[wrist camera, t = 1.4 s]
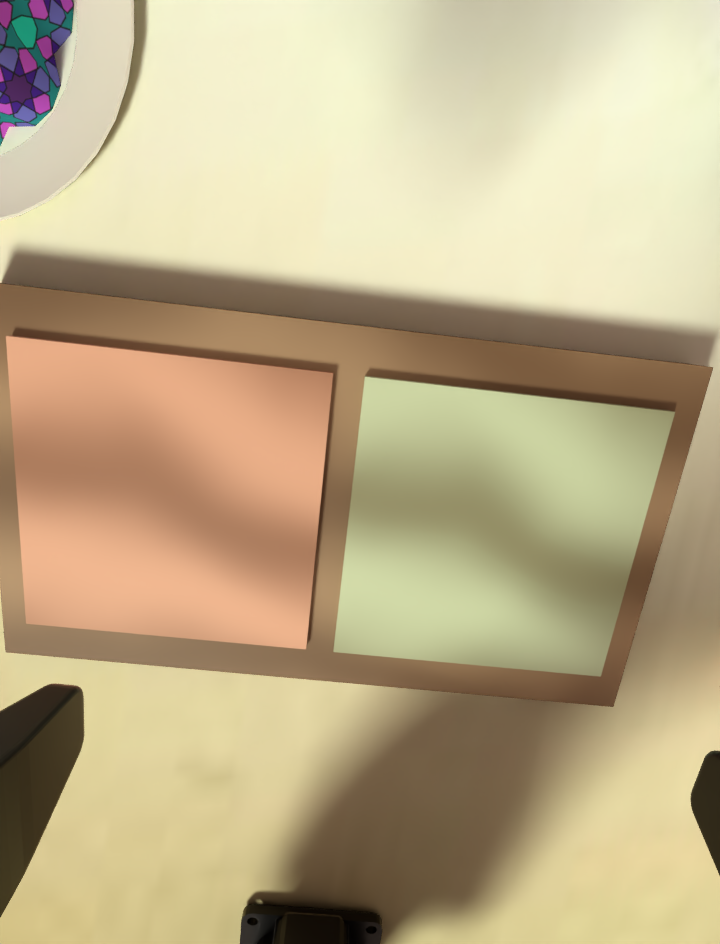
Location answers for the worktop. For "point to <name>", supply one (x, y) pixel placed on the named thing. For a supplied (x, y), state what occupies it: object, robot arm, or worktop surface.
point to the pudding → (37, 85)
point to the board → (329, 497)
